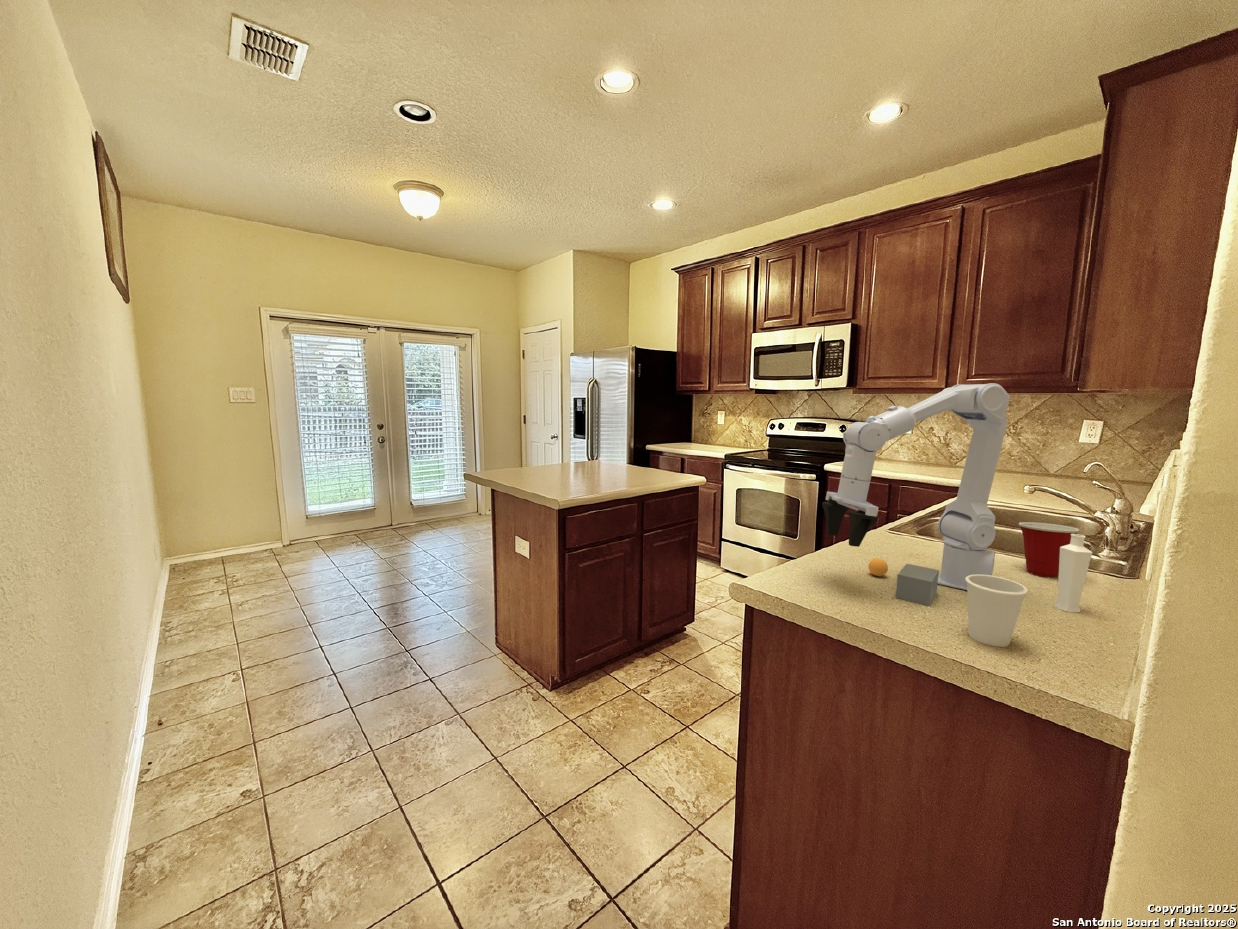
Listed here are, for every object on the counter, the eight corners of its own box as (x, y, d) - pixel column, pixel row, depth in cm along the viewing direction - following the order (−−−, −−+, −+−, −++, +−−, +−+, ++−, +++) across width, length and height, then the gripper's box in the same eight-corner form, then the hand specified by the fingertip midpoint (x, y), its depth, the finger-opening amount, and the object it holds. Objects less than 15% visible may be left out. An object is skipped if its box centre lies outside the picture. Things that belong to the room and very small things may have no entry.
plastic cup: (1048, 566, 121) (1055, 519, 119) (1085, 583, 110) (1093, 531, 109) (1001, 564, 122) (1007, 518, 120) (1033, 580, 111) (1040, 529, 110)
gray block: (936, 592, 103) (939, 570, 103) (929, 606, 97) (931, 581, 96) (904, 585, 107) (906, 563, 107) (895, 597, 100) (897, 574, 100)
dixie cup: (1033, 648, 81) (1041, 590, 79) (991, 653, 79) (999, 594, 77) (985, 625, 89) (992, 572, 87) (947, 629, 87) (953, 575, 86)
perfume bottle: (1077, 615, 93) (1089, 540, 91) (1048, 606, 97) (1059, 534, 95) (1087, 611, 95) (1099, 537, 93) (1059, 602, 99) (1070, 531, 97)
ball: (888, 575, 113) (890, 558, 113) (884, 580, 110) (886, 563, 110) (870, 571, 116) (871, 554, 115) (865, 575, 113) (867, 559, 112)
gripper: (818, 470, 109) (807, 529, 111) (861, 482, 95) (847, 549, 97) (846, 474, 111) (834, 531, 112) (892, 486, 97) (878, 552, 98)
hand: (842, 540), depth 105 cm, fingers open, 7 cm apart
